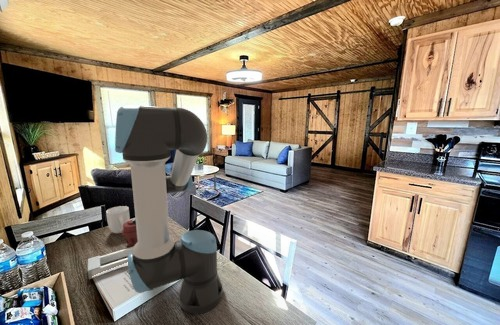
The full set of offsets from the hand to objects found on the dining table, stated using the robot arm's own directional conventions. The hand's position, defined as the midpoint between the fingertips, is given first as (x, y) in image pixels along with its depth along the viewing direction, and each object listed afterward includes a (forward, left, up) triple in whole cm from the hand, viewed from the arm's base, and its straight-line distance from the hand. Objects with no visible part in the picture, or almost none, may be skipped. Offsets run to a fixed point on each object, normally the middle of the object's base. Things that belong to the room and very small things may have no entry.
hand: (150, 249), depth 99 cm
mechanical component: (+13, +5, -2) cm, 14 cm away
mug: (+33, +9, -2) cm, 34 cm away
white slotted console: (0, +13, -2) cm, 13 cm away
